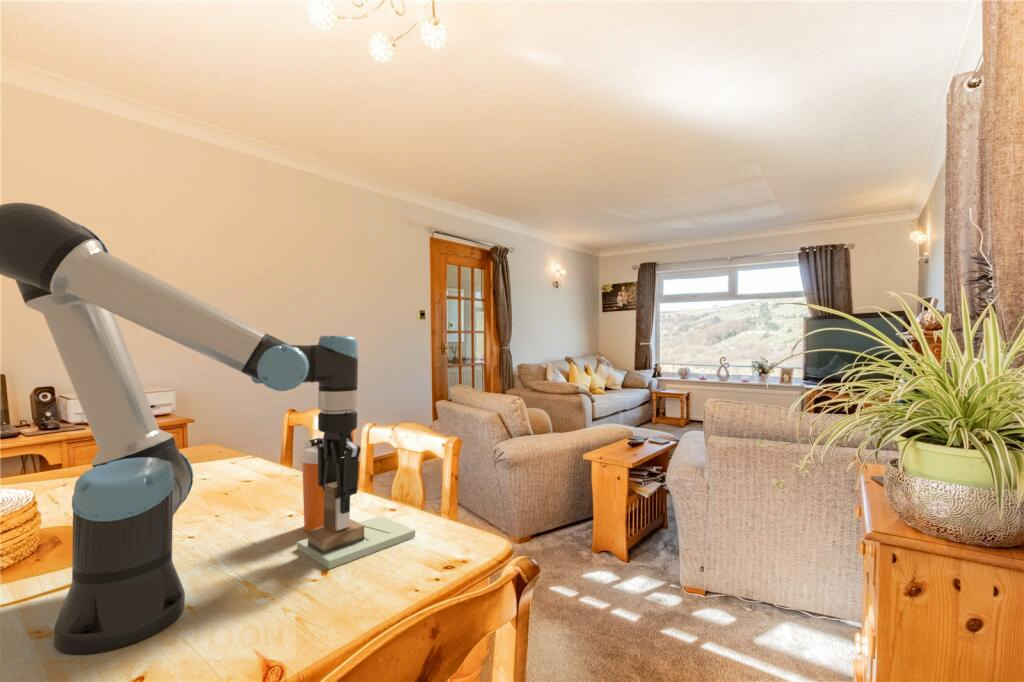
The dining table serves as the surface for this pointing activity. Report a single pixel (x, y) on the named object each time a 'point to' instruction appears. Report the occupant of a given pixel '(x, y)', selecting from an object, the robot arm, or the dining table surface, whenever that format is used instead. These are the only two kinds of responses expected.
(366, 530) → the board
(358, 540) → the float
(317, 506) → the shaker bottle
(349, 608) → the dining table surface
